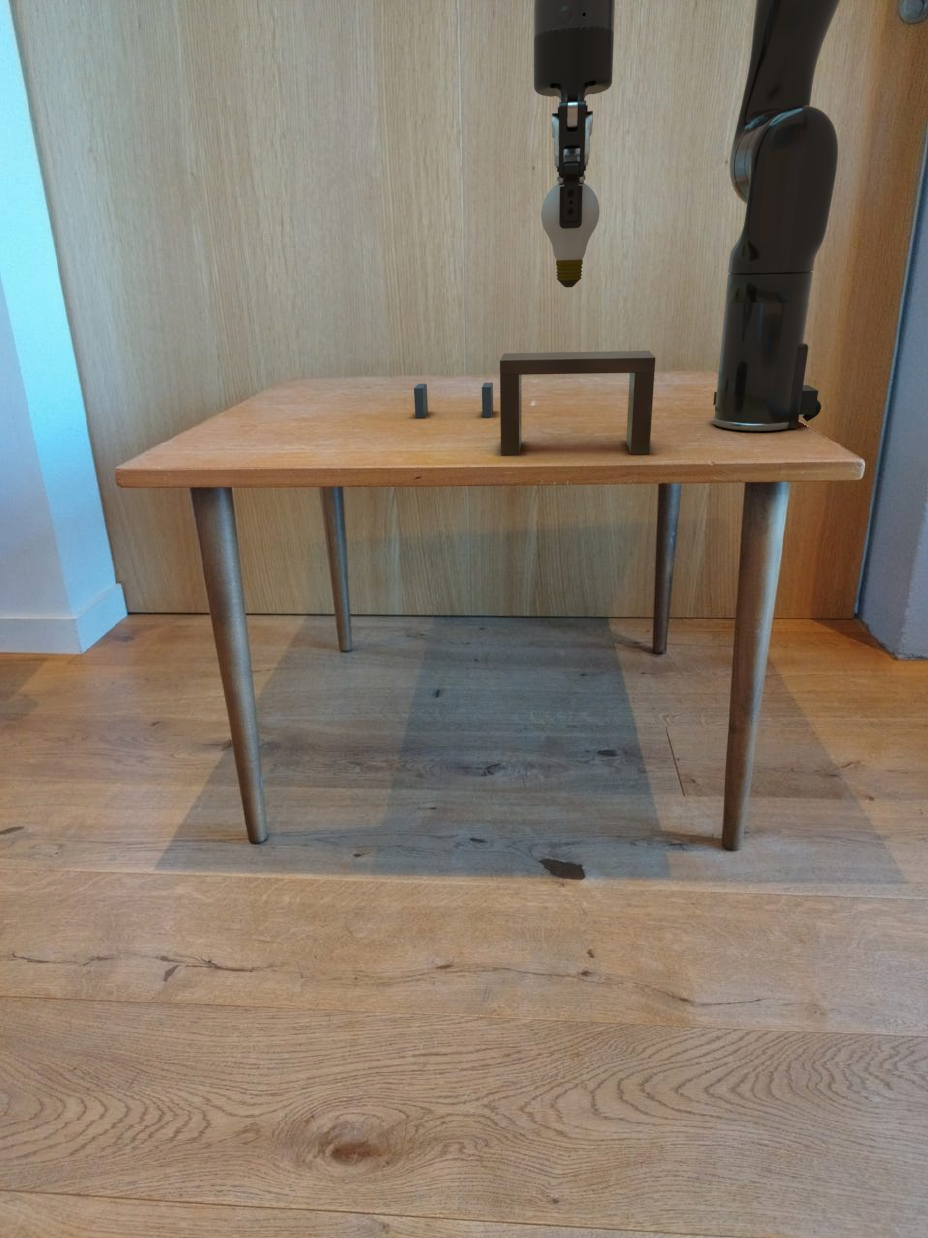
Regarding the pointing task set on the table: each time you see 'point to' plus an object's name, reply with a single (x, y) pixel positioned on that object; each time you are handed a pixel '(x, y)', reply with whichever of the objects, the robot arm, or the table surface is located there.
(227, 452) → the table surface
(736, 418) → the robot arm
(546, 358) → the dark brown rectangular arch
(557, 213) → the light bulb
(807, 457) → the table surface
